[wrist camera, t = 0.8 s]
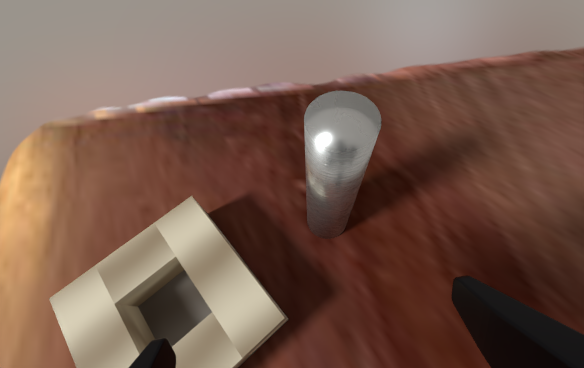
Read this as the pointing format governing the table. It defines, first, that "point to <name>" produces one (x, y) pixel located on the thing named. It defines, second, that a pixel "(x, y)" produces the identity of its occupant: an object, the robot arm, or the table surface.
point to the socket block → (169, 299)
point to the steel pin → (337, 157)
